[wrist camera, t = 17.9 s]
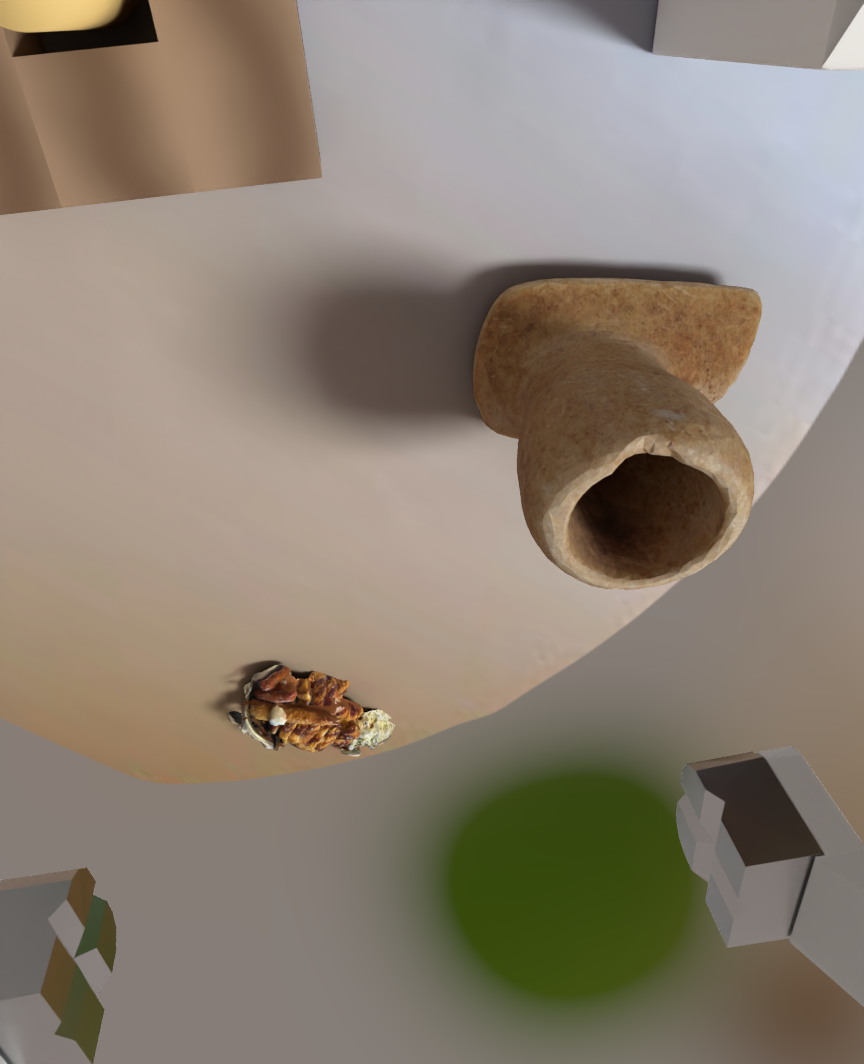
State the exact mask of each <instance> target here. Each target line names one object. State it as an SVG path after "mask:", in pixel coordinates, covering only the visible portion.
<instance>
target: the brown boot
mask: <svg viewBox="0 0 864 1064" xmlns="http://www.w3.org/2000/svg"><path fill="white" fill-rule="evenodd" d="M761 313H762V303H761V300H760V297H759V295H758V293H757V292H756V291H755V290H753V289H749V288H743V287H736V286H726V285H713V284H709V283H697V282H682V281H655V280H643V279H625V278H553V279H542V280H536V281H531V282H525V283H521V284H518V285H515V286H512V287H509V288H508V289H507V290H506V291H504V292H503V293H502V294H501V295H500V296H499V297H498V298H497V299H496V300H495V302H494V304H493V305H492V307H491V309H490V310H489V312H488V315H487V317H486V319H485V321H484V323H483V326H482V329H481V332H480V335H479V338H478V342H477V345H476V349H475V356H474V367H473V392H474V399H475V402H476V404H477V406H478V408H479V410H480V412H481V417H482V419H483V421H484V423H485V424H486V425H487V426H488V427H489V428H490V429H492V430H493V431H495V432H496V433H498V434H501V435H505V436H508V437H511V438H516V439H519V442H518V453H517V474H518V481H519V488H520V495H521V503H522V509H523V513H524V517H525V520H526V524H527V526H528V528H529V531H530V533H531V535H532V537H533V538H534V540H535V542H536V543H537V545H538V546H539V547H540V549H541V550H542V552H543V553H544V554H545V556H546V557H547V558H548V559H549V560H550V561H551V562H553V563H554V564H555V565H556V566H558V567H559V568H560V569H561V570H562V571H564V572H565V573H567V574H568V575H570V576H572V577H574V578H575V579H577V580H579V581H581V582H584V583H586V584H588V585H591V586H595V587H600V588H605V589H614V588H616V589H626V590H628V589H640V588H647V587H653V586H659V585H664V584H667V583H670V582H673V581H676V580H679V579H682V578H684V577H687V576H689V575H691V574H694V573H696V572H697V571H699V570H701V569H702V568H704V567H705V566H707V565H708V564H709V563H711V562H713V561H715V560H716V559H717V558H718V557H719V556H720V555H721V554H723V553H724V552H725V551H726V550H727V549H728V548H729V547H730V546H732V544H733V543H734V542H735V540H736V539H737V538H738V536H739V534H740V533H741V531H742V529H743V528H744V526H745V524H746V522H747V520H748V518H749V514H750V510H751V505H752V500H753V495H754V473H753V468H752V464H751V459H750V455H749V452H748V450H747V448H746V447H745V445H744V443H743V441H742V439H741V438H740V436H739V435H738V433H737V431H736V430H735V428H734V427H733V426H732V424H731V423H730V422H729V421H728V420H727V419H726V418H725V417H724V416H723V415H722V414H721V413H720V411H719V410H718V409H717V408H716V407H715V406H714V405H713V403H714V402H716V401H717V400H719V399H720V398H722V397H723V396H724V395H725V393H726V392H727V390H728V389H729V387H730V386H731V385H732V384H733V383H734V382H735V381H736V379H737V377H738V375H739V373H740V371H741V370H742V368H743V366H744V365H745V363H746V360H747V358H748V356H749V353H750V349H751V347H752V345H753V342H754V340H755V337H756V334H757V330H758V326H759V323H760V318H761Z"/></svg>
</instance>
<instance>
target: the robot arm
mask: <svg viewBox="0 0 864 1064" xmlns="http://www.w3.org/2000/svg"><path fill="white" fill-rule="evenodd" d="M681 784H682V786H683V788H684V790H685V792H686V794H685V795H684V796H683V797H682V799H680V800H679V802H678V804H677V816H676V820H677V826H678V833H679V838H680V841H681V844H682V847H683V851H684V854H685V856H686V858H687V860H688V862H689V865H690V867H691V870H692V871H694V872H695V873H696V874H698V875H699V876H700V877H702V878H703V879H704V880H706V881H707V882H708V883H709V884H708V890H707V896H706V903H707V905H708V907H709V909H710V911H711V913H712V916H713V918H714V920H715V922H716V924H717V926H718V928H719V931H720V933H721V935H722V937H723V939H724V941H725V944H726V946H727V948H729V947H734V946H735V947H736V946H742V945H748V944H754V943H761V942H768V941H774V940H781V939H787V938H790V941H789V942H790V943H791V944H792V945H794V946H795V947H796V948H797V949H798V950H799V951H800V952H802V953H803V954H804V955H805V956H806V957H808V959H810V960H811V961H812V962H813V963H814V964H815V965H817V966H818V967H819V968H820V969H821V970H822V971H823V972H825V973H826V974H827V975H828V976H829V977H830V978H832V979H833V980H834V981H835V982H836V983H837V984H838V985H839V986H840V987H842V988H843V989H844V990H845V991H846V992H847V993H849V994H850V995H851V996H852V997H853V998H854V999H855V1000H856V1001H858V1002H859V1003H860V1004H861V1005H862V1006H863V1007H864V844H863V843H862V841H861V840H860V838H859V837H858V836H857V834H856V833H855V831H854V830H853V828H852V827H851V825H850V824H849V822H848V821H847V819H846V818H845V817H844V815H843V814H842V812H841V811H840V810H839V808H838V806H837V805H836V803H835V802H834V801H833V799H832V798H831V796H830V795H829V793H828V792H827V790H826V789H825V787H824V786H823V785H822V783H821V782H820V780H819V779H818V777H817V776H816V774H815V773H814V771H813V770H812V769H811V767H810V766H809V764H808V763H807V761H806V760H805V758H804V757H803V755H802V754H801V752H799V751H798V750H796V749H795V748H794V747H782V748H777V749H771V750H766V751H761V752H757V753H754V752H749V753H743V754H738V755H732V756H727V757H722V758H716V759H711V760H706V761H700V762H696V763H690V764H687V765H686V766H685V767H684V768H683V769H682V775H681ZM95 884H96V881H95V879H94V878H93V876H92V875H91V873H90V871H89V870H88V869H87V867H85V868H79V869H72V870H66V871H59V872H53V873H46V874H39V875H32V876H26V877H20V878H12V879H4V880H0V1064H93V1062H94V1058H95V1053H96V1048H97V1043H98V1038H99V1034H100V1029H101V1024H102V1019H103V1015H104V1008H103V1006H102V1004H101V1002H100V1000H99V998H98V996H97V995H96V993H97V992H98V991H99V990H100V988H101V987H102V986H103V985H104V983H105V982H106V981H107V979H108V978H109V977H110V976H111V974H112V971H113V966H114V960H115V955H116V924H115V920H114V915H113V911H112V910H111V908H110V906H109V904H108V902H107V901H106V900H104V899H101V898H99V897H97V896H95V895H93V892H94V888H95Z"/></svg>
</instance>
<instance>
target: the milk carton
mask: <svg viewBox="0 0 864 1064" xmlns="http://www.w3.org/2000/svg"><path fill="white" fill-rule="evenodd" d="M653 54H654V55H662V56H673V57H684V58H695V59H706V60H717V61H728V62H739V63H750V64H761V65H772V66H783V67H794V68H805V69H818V70H864V0H659V3H658V11H657V19H656V27H655V35H654V43H653Z"/></svg>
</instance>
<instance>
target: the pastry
mask: <svg viewBox="0 0 864 1064" xmlns="http://www.w3.org/2000/svg"><path fill="white" fill-rule="evenodd" d="M309 676H310V677H309V678H308V679H303V678H302V679H299V678H298V679H295V678H294V676H291V671H290V670H289V668H288V667H285V666H283V665H275V666H272V667H271V668H268V669H267V670H264V671H263V672H258V673H255V674H254V676H253V677H252V681H251V682H250V683H248V684H246V685H245V686H244V693H245V699H244V703H243V704H242V713H239V712H236V711H232V712H230V713H229V715H228V716H229V719H230V721H231V722H232V723H233V724H241V723H242V729H241V731H242V732H243V733H244V734H245V733H246V732H247V733H248V735H250V736H251V737H252V738H253V739H255V740H257V741H260V742H261V743H262V744H263V746H264V747H265V748H266V749H274V750H276V751H277V750H279V749H282V748H284V747H285V746H284V745H282V744H283V743H285V744H287V743H288V744H290V745H292V746H294V747H297V748H299V749H302V750H306V751H310V752H320V751H322V750H323V749H325V748H326V747H327V745H328V744H334V745H338V746H340V747H343V748H344V749H341V753H342V754H345V755H350V756H360V753H361V751H360V750H359V748H360V747H361V746H363V745H364V746H368V747H369V749H371V750H373V749H374V748H375V747H377V746H378V745H380V744H383V743H384V742H385V741H386V740H387V739H388V738H389V737H390V736H391V734H392V732H393V730H394V727H395V725H394V724H392V723H391V722H389V721H387V720H388V719H392V718H390V716H389V715H388V714H386V713H385V712H383V711H382V710H378V709H377V710H372V711H369V712H363V708H362V707H361V706H360V704H357V703H355V702H352V701H349V700H347V699H344V698H343V697H342V696H343V694H344V693H345V692H346V691H347V688H348V686H349V681H348V680H346V681H342V680H338V679H336V678H333V677H332V676H329V675H326V674H323V673H319V672H315V671H312V674H310V675H309ZM241 714H242V715H241ZM250 718H251V719H250ZM254 722H255V723H256V724H257V725H255V724H254ZM257 727H258V728H260V729H261V731H262V734H260V733H259V732H258V730H257V729H256V728H257ZM240 728H241V727H239V729H240Z"/></svg>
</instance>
